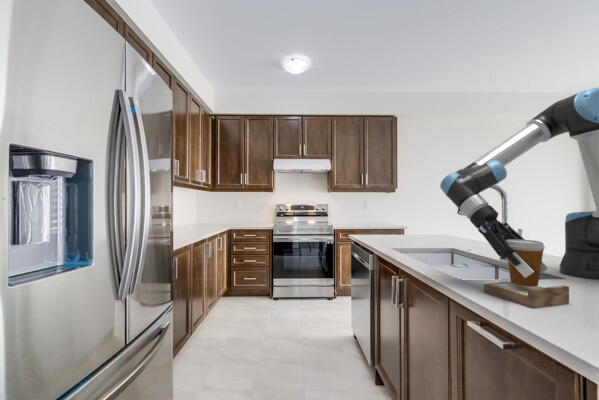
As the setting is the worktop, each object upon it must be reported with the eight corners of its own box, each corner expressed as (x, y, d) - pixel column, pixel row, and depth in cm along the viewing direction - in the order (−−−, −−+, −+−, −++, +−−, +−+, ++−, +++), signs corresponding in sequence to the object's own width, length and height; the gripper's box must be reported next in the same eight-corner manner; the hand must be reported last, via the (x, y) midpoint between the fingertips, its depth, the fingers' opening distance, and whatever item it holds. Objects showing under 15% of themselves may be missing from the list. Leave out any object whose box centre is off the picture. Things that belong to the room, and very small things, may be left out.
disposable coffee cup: (552, 289, 87) (552, 243, 87) (512, 287, 89) (512, 242, 89) (534, 280, 96) (534, 239, 96) (498, 278, 98) (498, 238, 98)
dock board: (516, 288, 102) (516, 274, 102) (569, 303, 87) (569, 286, 87) (483, 292, 98) (483, 277, 98) (532, 308, 84) (532, 290, 84)
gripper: (488, 219, 111) (543, 275, 98) (451, 221, 100) (507, 285, 86) (505, 203, 107) (565, 260, 93) (468, 204, 96) (530, 269, 82)
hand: (537, 272), depth 90 cm, fingers closed on disposable coffee cup, 8 cm apart
